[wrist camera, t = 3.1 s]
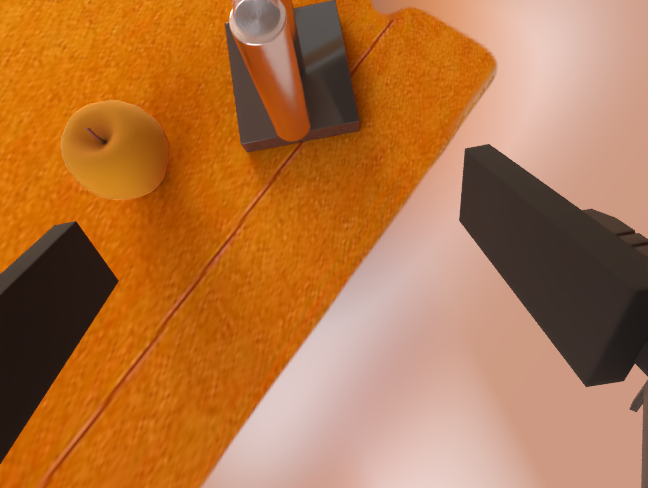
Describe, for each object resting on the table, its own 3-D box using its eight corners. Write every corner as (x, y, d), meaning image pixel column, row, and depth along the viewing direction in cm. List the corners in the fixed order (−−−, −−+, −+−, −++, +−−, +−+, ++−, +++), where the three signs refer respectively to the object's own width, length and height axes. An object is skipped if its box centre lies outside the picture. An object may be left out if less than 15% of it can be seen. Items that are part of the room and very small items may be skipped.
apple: (197, 202, 35) (145, 171, 26) (115, 221, 35) (37, 196, 26) (185, 124, 36) (132, 69, 28) (106, 143, 37) (29, 94, 28)
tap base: (230, 37, 38) (224, 22, 36) (336, 15, 37) (335, -1, 35) (246, 152, 35) (240, 144, 33) (359, 131, 35) (359, 121, 33)
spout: (271, 57, 34) (189, -194, 17) (301, 50, 34) (251, -209, 17) (290, 176, 32) (219, 32, 15) (322, 170, 32) (291, 17, 14)
